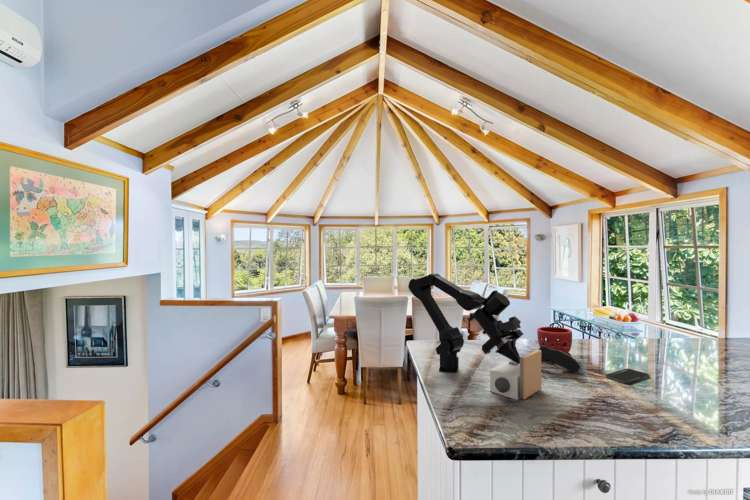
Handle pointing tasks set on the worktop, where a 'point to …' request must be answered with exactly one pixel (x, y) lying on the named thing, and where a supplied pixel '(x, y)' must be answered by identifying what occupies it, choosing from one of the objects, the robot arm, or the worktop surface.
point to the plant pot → (555, 338)
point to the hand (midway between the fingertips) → (520, 363)
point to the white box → (506, 379)
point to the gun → (559, 359)
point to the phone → (627, 376)
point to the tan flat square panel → (530, 374)
